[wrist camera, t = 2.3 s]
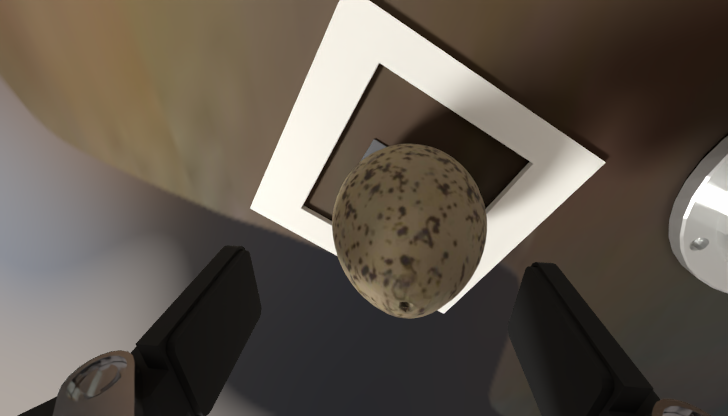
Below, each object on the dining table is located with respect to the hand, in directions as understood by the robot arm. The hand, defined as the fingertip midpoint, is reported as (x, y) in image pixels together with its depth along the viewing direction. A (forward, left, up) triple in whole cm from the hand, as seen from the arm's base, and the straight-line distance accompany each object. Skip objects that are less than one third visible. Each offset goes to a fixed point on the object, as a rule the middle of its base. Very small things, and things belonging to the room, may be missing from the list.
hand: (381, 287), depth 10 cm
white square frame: (-1, 0, -9) cm, 9 cm away
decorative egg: (-1, 0, -9) cm, 9 cm away
